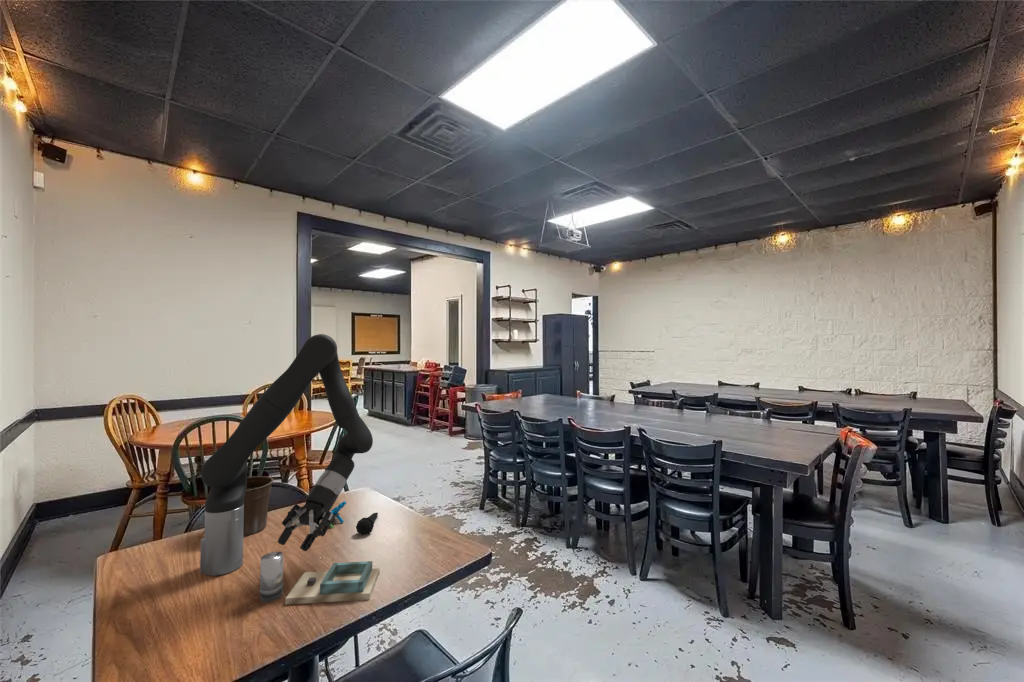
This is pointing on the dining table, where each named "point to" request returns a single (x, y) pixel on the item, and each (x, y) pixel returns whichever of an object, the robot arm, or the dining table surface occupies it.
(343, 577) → the beige board with frame
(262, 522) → the plant pot
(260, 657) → the dining table surface
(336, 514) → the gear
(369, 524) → the microphone
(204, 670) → the dining table surface
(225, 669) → the dining table surface
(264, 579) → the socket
